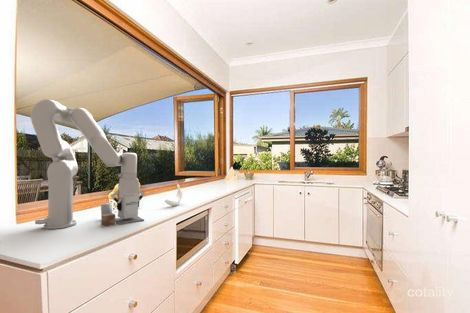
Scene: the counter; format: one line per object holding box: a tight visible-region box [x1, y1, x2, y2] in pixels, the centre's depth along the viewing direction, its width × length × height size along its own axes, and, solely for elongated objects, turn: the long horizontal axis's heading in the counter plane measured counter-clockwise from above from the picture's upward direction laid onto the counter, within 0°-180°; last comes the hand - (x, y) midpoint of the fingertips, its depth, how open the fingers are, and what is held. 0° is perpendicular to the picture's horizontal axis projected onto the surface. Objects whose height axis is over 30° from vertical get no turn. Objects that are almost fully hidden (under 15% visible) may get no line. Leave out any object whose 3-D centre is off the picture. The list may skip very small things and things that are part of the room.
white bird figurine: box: [164, 183, 183, 207], centre depth 164 cm, size 5×19×15 cm, turn 166°
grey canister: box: [100, 202, 113, 216], centre depth 125 cm, size 5×5×8 cm
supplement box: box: [117, 193, 139, 219], centre depth 123 cm, size 7×7×13 cm
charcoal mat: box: [115, 215, 145, 225], centre depth 123 cm, size 12×12×1 cm
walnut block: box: [100, 212, 116, 227], centre depth 115 cm, size 5×5×5 cm
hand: (128, 209), depth 123 cm, fingers closed on supplement box, 8 cm apart
